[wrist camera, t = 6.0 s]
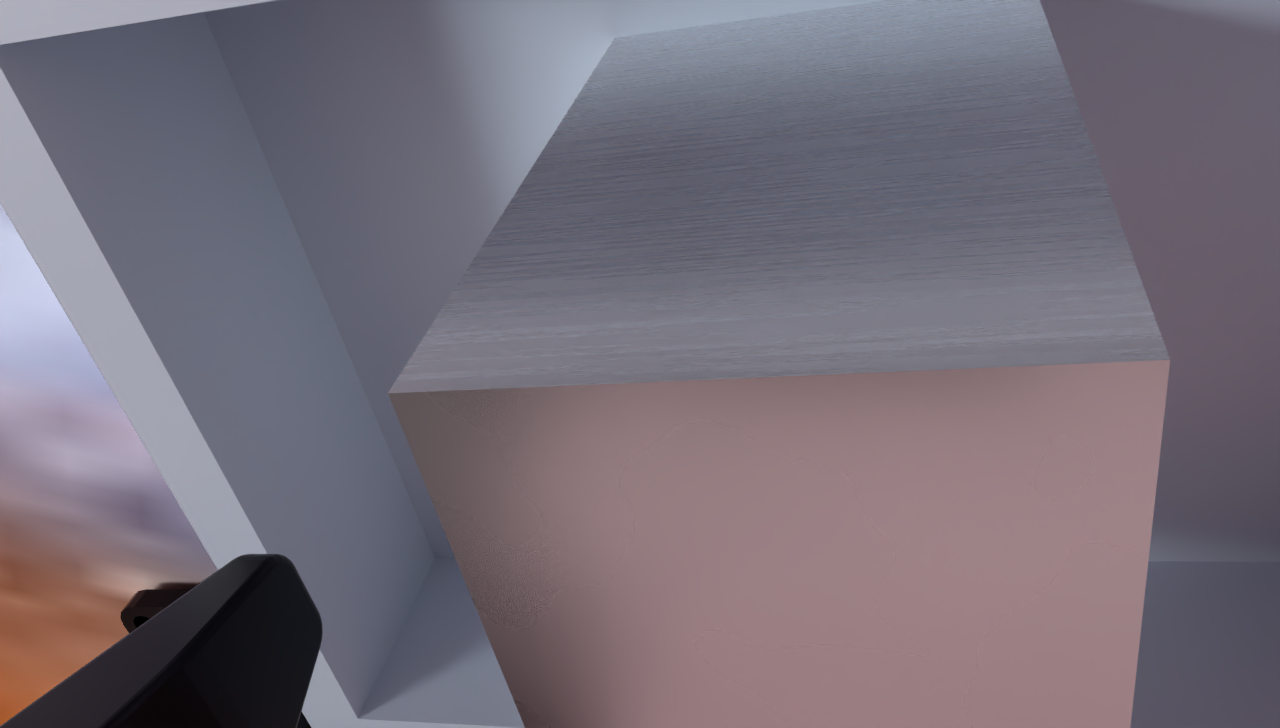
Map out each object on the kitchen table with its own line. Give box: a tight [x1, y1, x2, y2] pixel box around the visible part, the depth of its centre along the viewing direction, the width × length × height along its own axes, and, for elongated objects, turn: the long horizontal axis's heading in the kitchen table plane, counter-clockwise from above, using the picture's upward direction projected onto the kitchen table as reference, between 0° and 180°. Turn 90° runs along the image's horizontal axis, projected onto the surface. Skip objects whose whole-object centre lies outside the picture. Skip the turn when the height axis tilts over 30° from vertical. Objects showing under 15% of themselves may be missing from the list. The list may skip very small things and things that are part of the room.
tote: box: [0, 0, 1280, 728], centre depth 11 cm, size 11×15×4 cm
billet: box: [388, 0, 1170, 728], centre depth 9 cm, size 6×4×6 cm, turn 11°
